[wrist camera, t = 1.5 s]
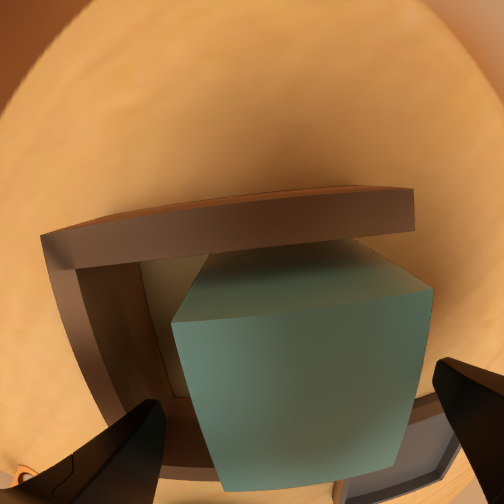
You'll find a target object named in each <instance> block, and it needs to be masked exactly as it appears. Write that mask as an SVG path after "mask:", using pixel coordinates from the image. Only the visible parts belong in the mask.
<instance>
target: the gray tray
mask: <svg viewBox="0 0 504 504" xmlns="http://www.w3.org/2000/svg"><path fill="white" fill-rule="evenodd" d="M461 447H462V446H461V444H460V443H459V441H458V439H457V437H456V435H455V433H454V431H453V429H452V427H451V426H450V424H449V422H448V420H447V418H446V415H445V413H444V411H443V408H442V406H441V403H440V401H439V399H438V396H437V394H436V393H433V394H430V395H427V396H424V397H421V398H418V399H415V400H414V403H413V407H412V411H411V414H410V418H409V421H408V424H407V427H406V431H405V434H404V437H403V440H402V443H401V446H400V448H399V451H398V454H397V457H396V459H395V462H394V465H393V466H391V467H388V468H385V469H381V470H378V471H374V472H371V473H367V474H363V475H359V476H355V477H351V478H346V479H342V480H337V481H335V483H334V489H333V494H332V499H333V503H334V504H378V503H382V502H385V501H388V500H391V499H394V498H397V497H400V496H403V495H406V494H408V493H411V492H414V491H416V490H419V489H421V488H424V487H426V486H429V485H431V484H433V483H436V482H438V481H440V480H442V479H443V478H444V476H445V475H446V473H447V471H448V470H449V468H450V466H451V465H452V463H453V461H454V460H455V458H456V456H457V454H458V453H459V451H460V449H461Z"/></svg>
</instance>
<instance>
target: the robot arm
mask: <svg viewBox="0 0 504 504" xmlns="http://www.w3.org/2000/svg"><path fill="white" fill-rule="evenodd" d="M432 384H433V387H434V389H435V392H436V394H437V396H438V399H439V401H440V403H441V406H442V408H443V411H444V413H445V415H446V418H447V420H448V422H449V424H450V426H451V427H452V429H453V431H454V433H455V435H456V437H457V439H458V441H459V443H460V444H461V446H462V448H463V450H464V452H465V454H466V456H467V458H468V460H469V462H470V465H471V467H472V469H473V471H474V473H475V475H476V477H477V479H478V481H479V484H480V486H481V488H482V490H483V493H484V495H485V497H486V500H487V502H488V504H504V376H503V375H500V374H497V373H494V372H491V371H488V370H485V369H482V368H479V367H476V366H473V365H470V364H467V363H464V362H461V361H458V360H455V359H453V358H450V357H445V358H442V359H439V360H438V361H437V363H436V366H435V370H434V374H433V379H432ZM166 427H167V418H166V415H165V412H164V410H163V407H162V405H161V402H160V401H159V400H158V399H145V400H144V401H142V402H141V403H140V404H139V405H137V406H136V407H135V408H133V409H132V410H131V411H129V412H128V413H127V414H125V415H124V416H123V417H121V418H120V419H119V420H117V421H116V422H115V423H113V424H112V425H111V426H109V427H108V428H107V429H105V430H104V431H103V432H101V433H100V434H99V435H97V436H96V437H94V438H93V439H92V440H90V441H89V442H87V443H86V444H85V445H83V446H82V447H80V448H79V449H78V450H76V451H75V452H73V454H70V455H69V456H67V457H66V458H65V459H63V460H62V461H60V462H58V463H57V464H55V465H54V466H52V467H50V468H49V469H47V470H45V471H43V472H42V473H40V474H38V475H36V476H34V477H32V478H30V479H28V480H26V481H24V482H22V483H20V484H18V485H16V486H13V487H11V488H7V489H0V504H153V500H154V496H155V491H156V487H157V483H158V479H159V474H160V470H161V466H162V461H163V453H164V444H165V436H166Z"/></svg>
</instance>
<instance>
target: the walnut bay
mask: <svg viewBox="0 0 504 504" xmlns="http://www.w3.org/2000/svg"><path fill="white" fill-rule="evenodd" d="M410 231H415V218H414V193H413V189H410V188H397V187H382V186H364V185H349V186H335V187H321V188H309V189H298V190H287V191H277V192H267V193H258V194H249V195H241V196H232V197H224V198H217V199H209V200H202V201H195V202H188V203H181V204H174V205H168V206H161V207H155V208H149V209H143V210H137V211H131V212H125V213H120V214H114V215H109V216H105V217H101V218H97V219H94V220H90V221H87V222H83V223H80V224H76V225H73V226H69V227H66V228H63V229H59V230H56V231H53V232H50V233H47V234H43V235H40V237H41V243H42V248H43V252H44V257H45V261H46V266H47V270H48V274H49V278H50V282H51V286H52V289H53V293H54V296H55V300H56V303H57V306H58V310H59V313H60V316H61V319H62V322H63V325H64V328H65V331H66V334H67V336H68V339H69V342H70V345H71V347H72V350H73V352H74V355H75V357H76V360H77V362H78V365H79V367H80V370H81V372H82V374H83V376H84V379H85V381H86V383H87V385H88V388H89V390H90V392H91V394H92V396H93V398H94V400H95V402H96V404H97V406H98V408H99V410H100V412H101V414H102V416H103V418H104V420H105V421H106V423H107V425H108V427H109V426H111V425H112V424H113V423H115V422H116V421H117V420H119V419H120V418H121V417H123V416H124V415H125V414H127V413H128V412H129V411H131V410H132V409H133V408H135V407H136V406H137V405H139V404H140V403H141V402H142V401H144V400H145V399H158V400H159V401H160V402H161V405H162V407H163V410H164V412H165V415H166V418H167V427H166V436H165V444H164V453H163V461H162V466H161V470H160V474H159V478H164V479H175V480H189V481H220V479H219V476H218V474H217V471H216V469H215V466H214V463H213V461H212V458H211V455H210V453H209V450H208V447H207V444H206V442H205V439H204V436H203V433H202V430H201V427H200V424H199V421H198V418H197V415H196V412H195V409H194V406H193V403H192V399H191V398H174V395H173V392H172V389H171V386H170V383H169V380H168V377H167V373H166V370H165V367H164V364H163V360H162V357H161V354H160V350H159V347H158V343H157V340H156V336H155V332H154V329H153V325H152V321H151V317H150V313H149V309H148V305H147V301H146V297H145V292H144V288H143V284H142V279H141V274H140V270H139V265H138V262H140V261H149V260H157V259H166V258H175V257H184V256H192V255H201V254H210V253H219V252H228V251H237V250H246V249H255V248H264V247H273V246H282V245H291V244H300V243H309V242H318V241H327V240H336V239H345V238H354V237H364V236H373V235H382V234H391V233H401V232H410Z"/></svg>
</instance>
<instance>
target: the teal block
mask: <svg viewBox="0 0 504 504" xmlns="http://www.w3.org/2000/svg"><path fill="white" fill-rule="evenodd" d="M433 292H434V288H432V287H431V286H429V285H428V284H426V283H425V282H423V281H422V280H420V279H419V278H417V277H415V276H414V275H412V274H411V273H409V272H408V271H406V270H404V269H403V268H401V267H400V266H398V265H396V264H395V263H393V262H391V261H390V260H388V259H387V258H385V257H383V256H382V255H380V254H378V253H377V252H375V251H373V250H372V249H370V248H368V247H367V246H365V245H363V244H361V243H360V242H358V241H356V240H355V239H353V238H345V239H336V240H327V241H318V242H309V243H300V244H291V245H282V246H273V247H264V248H255V249H246V250H237V251H228V252H219V253H210V255H209V256H208V258H207V260H206V261H205V263H204V265H203V267H202V268H201V270H200V272H199V274H198V275H197V277H196V279H195V280H194V282H193V284H192V286H191V287H190V289H189V291H188V293H187V294H186V296H185V298H184V300H183V301H182V303H181V305H180V307H179V309H178V310H177V312H176V314H175V316H174V317H173V319H172V321H171V327H172V331H173V335H174V339H175V343H176V347H177V351H178V354H179V358H180V362H181V365H182V369H183V373H184V376H185V379H186V383H187V386H188V390H189V393H190V396H191V399H192V403H193V406H194V409H195V412H196V415H197V418H198V421H199V424H200V427H201V430H202V433H203V436H204V439H205V442H206V444H207V447H208V450H209V453H210V455H211V458H212V461H213V463H214V466H215V469H216V471H217V474H218V476H219V479H220V481H221V484H222V486H223V489H224V491H225V492H241V491H262V490H275V489H285V488H294V487H302V486H309V485H315V484H321V483H327V482H332V481H337V480H342V479H346V478H351V477H355V476H359V475H363V474H367V473H371V472H374V471H378V470H381V469H385V468H388V467H391V466H393V465H394V462H395V459H396V457H397V454H398V451H399V448H400V446H401V443H402V440H403V437H404V434H405V431H406V427H407V424H408V421H409V418H410V414H411V411H412V407H413V403H414V400H415V396H416V392H417V388H418V384H419V379H420V375H421V370H422V366H423V361H424V356H425V350H426V345H427V339H428V332H429V326H430V319H431V311H432V302H433Z"/></svg>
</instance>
